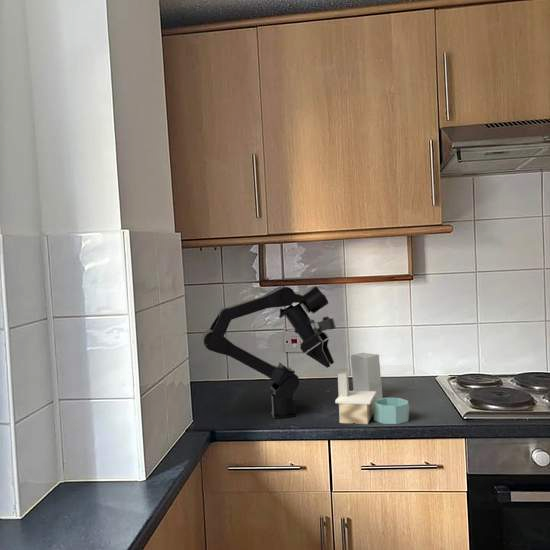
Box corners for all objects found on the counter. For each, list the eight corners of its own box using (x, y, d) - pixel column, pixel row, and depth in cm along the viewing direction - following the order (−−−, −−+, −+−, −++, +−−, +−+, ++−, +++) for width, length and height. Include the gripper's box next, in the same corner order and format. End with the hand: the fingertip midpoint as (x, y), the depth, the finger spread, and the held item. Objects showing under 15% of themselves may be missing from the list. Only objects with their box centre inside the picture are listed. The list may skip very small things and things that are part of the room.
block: (339, 422, 170) (338, 403, 169) (347, 411, 181) (346, 393, 181) (367, 424, 167) (366, 404, 167) (373, 412, 179) (373, 394, 178)
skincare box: (383, 399, 193) (381, 354, 193) (369, 403, 190) (367, 357, 189) (365, 395, 200) (363, 351, 200) (352, 398, 197) (350, 354, 196)
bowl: (372, 423, 168) (371, 405, 168) (377, 413, 177) (376, 397, 177) (406, 424, 165) (406, 406, 165) (409, 415, 174) (409, 398, 174)
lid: (335, 403, 170) (334, 377, 169) (343, 393, 181) (342, 369, 181) (370, 404, 167) (369, 378, 166) (376, 393, 178) (375, 369, 178)
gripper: (318, 307, 170) (350, 352, 167) (326, 306, 188) (355, 347, 185) (287, 329, 171) (318, 374, 169) (298, 326, 189) (326, 367, 187)
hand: (330, 365), depth 177 cm, fingers open, 9 cm apart
